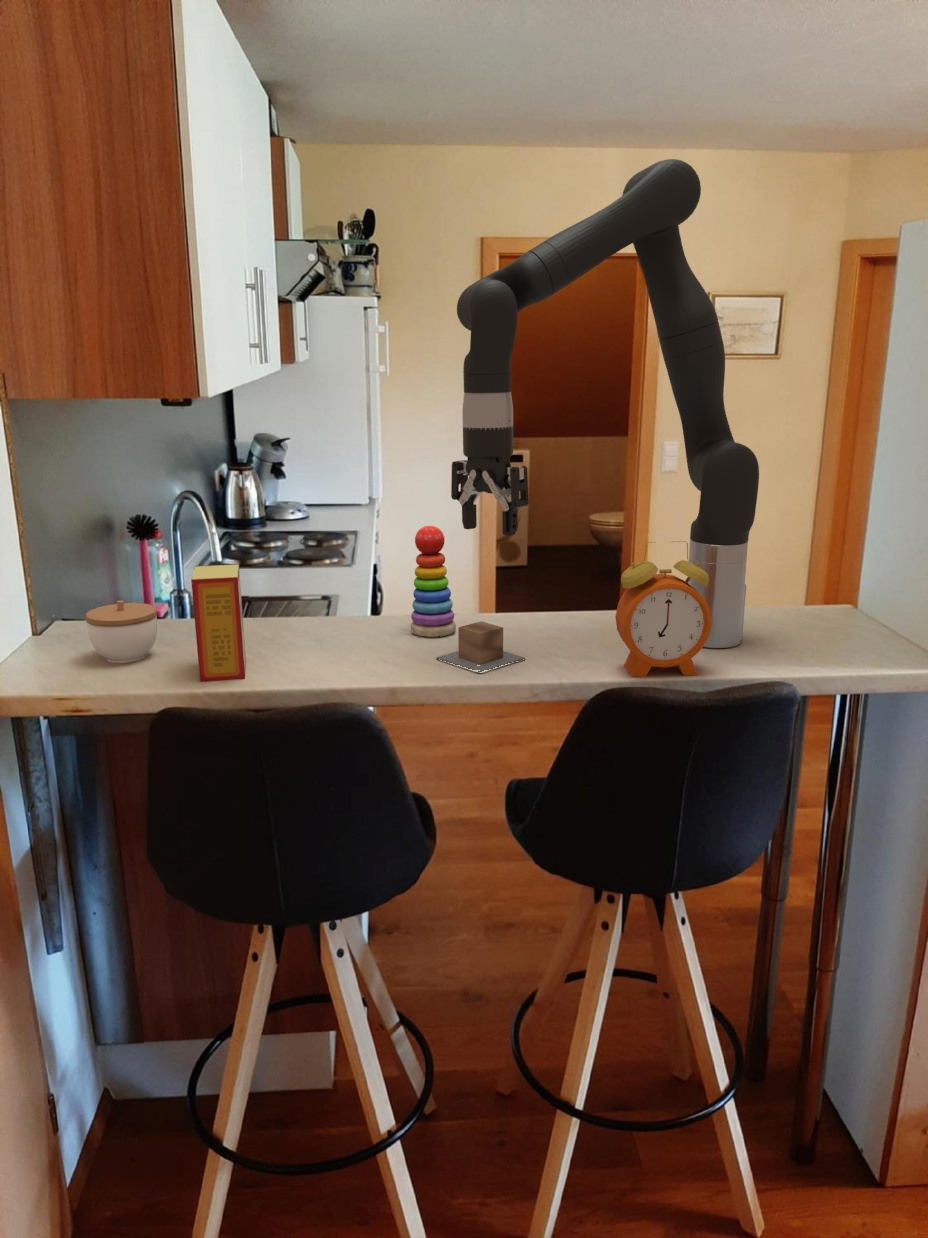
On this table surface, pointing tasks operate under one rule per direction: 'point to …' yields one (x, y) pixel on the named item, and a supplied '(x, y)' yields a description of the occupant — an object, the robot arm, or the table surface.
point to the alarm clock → (662, 617)
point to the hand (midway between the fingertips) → (489, 531)
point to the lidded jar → (122, 630)
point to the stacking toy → (431, 587)
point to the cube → (480, 642)
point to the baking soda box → (219, 622)
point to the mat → (456, 660)
